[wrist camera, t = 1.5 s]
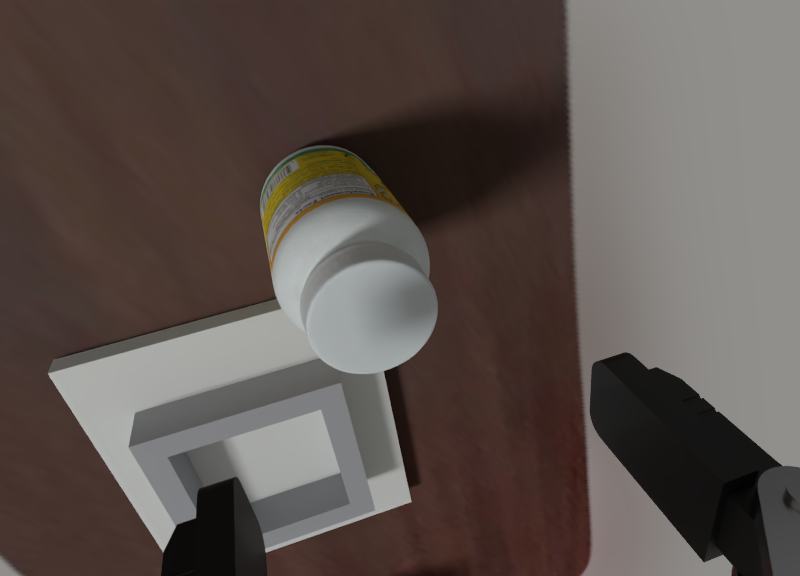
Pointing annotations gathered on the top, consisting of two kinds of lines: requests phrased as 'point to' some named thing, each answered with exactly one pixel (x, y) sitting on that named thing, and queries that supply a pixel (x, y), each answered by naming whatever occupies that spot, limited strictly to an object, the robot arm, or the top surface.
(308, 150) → the supplement bottle
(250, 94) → the top surface
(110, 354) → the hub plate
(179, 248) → the top surface
